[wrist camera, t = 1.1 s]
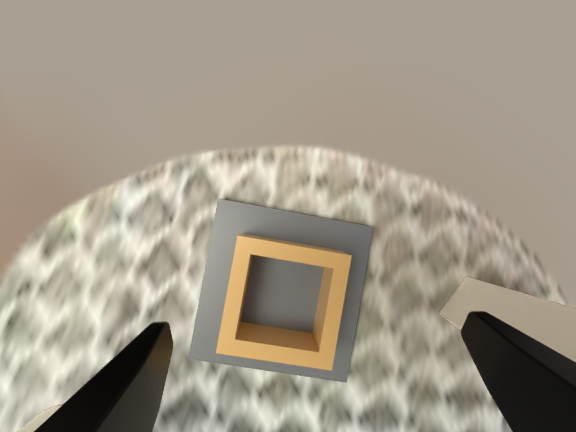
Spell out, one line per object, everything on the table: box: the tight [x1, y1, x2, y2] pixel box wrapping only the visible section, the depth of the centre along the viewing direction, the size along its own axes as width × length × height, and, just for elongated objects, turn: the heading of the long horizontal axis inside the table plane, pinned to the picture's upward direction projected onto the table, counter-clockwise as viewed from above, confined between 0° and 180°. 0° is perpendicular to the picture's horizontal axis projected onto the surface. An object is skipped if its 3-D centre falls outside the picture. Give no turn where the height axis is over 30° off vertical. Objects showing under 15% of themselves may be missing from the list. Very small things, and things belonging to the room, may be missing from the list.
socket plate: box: [188, 199, 373, 382], centre depth 23 cm, size 14×14×4 cm
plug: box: [439, 277, 576, 362], centre depth 20 cm, size 4×4×12 cm
